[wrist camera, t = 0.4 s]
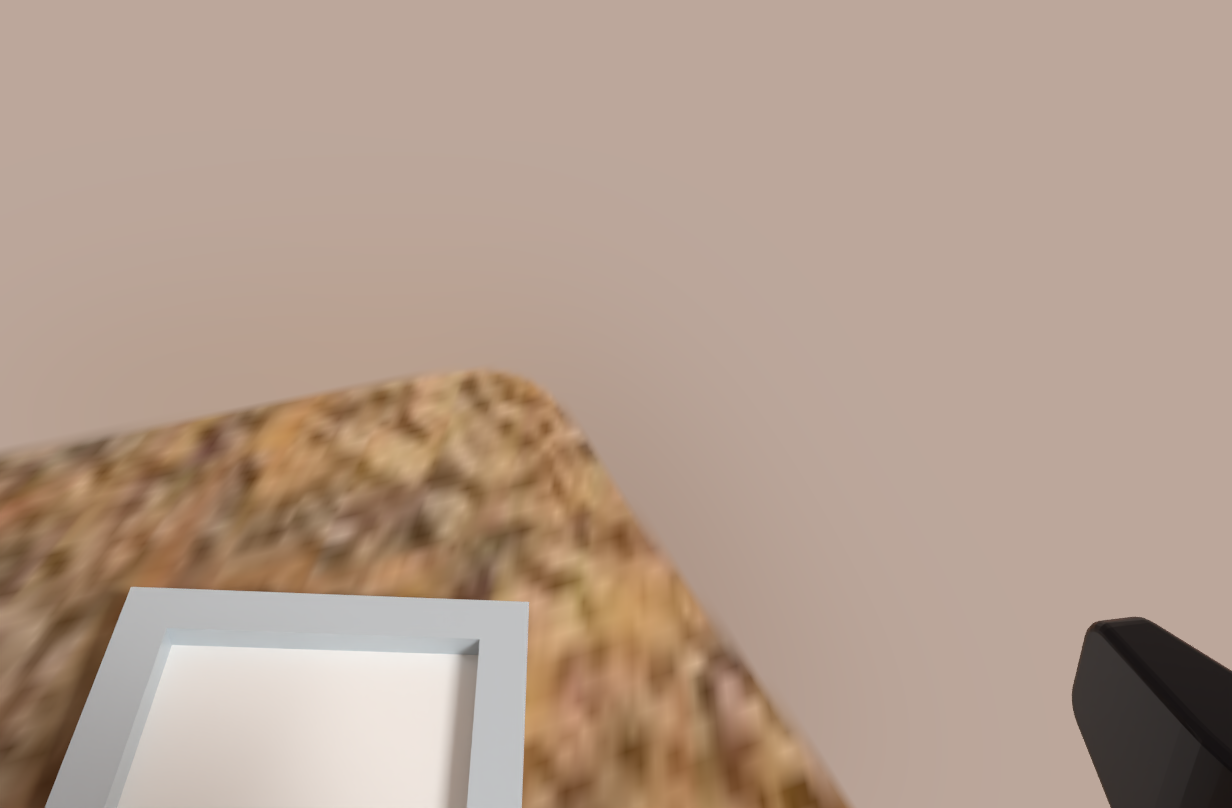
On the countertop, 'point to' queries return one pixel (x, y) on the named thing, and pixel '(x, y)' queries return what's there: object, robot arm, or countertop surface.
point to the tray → (303, 704)
